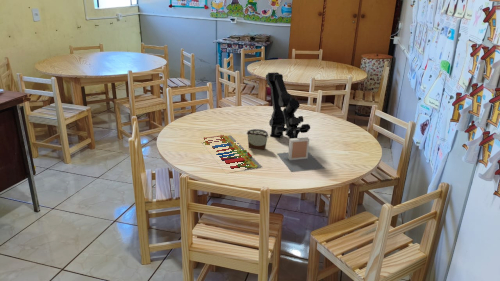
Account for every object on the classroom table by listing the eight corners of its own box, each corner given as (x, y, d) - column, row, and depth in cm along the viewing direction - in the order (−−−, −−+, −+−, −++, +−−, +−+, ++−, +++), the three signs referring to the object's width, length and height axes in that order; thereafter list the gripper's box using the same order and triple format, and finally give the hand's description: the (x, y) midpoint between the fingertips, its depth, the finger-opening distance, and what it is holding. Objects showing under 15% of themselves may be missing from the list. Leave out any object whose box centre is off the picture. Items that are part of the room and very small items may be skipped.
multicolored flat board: (262, 163, 178) (225, 170, 171) (262, 168, 179) (225, 174, 172) (230, 132, 216) (199, 136, 209) (230, 136, 217) (199, 140, 210)
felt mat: (276, 154, 194) (276, 153, 194) (307, 151, 199) (307, 150, 199) (291, 172, 175) (291, 172, 174) (325, 169, 179) (325, 168, 179)
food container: (270, 147, 202) (271, 130, 198) (267, 151, 197) (268, 134, 193) (249, 143, 206) (250, 127, 202) (246, 147, 200) (246, 131, 197)
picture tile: (287, 158, 189) (289, 138, 185) (305, 156, 192) (307, 137, 187) (289, 160, 187) (291, 140, 182) (307, 158, 189) (309, 139, 185)
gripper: (277, 111, 186) (283, 139, 181) (310, 109, 191) (317, 136, 186) (271, 121, 196) (277, 147, 191) (303, 119, 201) (309, 144, 196)
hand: (295, 143), depth 190 cm, fingers closed
